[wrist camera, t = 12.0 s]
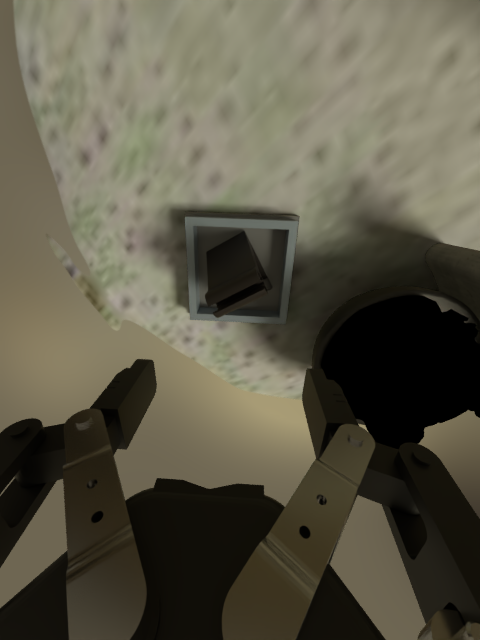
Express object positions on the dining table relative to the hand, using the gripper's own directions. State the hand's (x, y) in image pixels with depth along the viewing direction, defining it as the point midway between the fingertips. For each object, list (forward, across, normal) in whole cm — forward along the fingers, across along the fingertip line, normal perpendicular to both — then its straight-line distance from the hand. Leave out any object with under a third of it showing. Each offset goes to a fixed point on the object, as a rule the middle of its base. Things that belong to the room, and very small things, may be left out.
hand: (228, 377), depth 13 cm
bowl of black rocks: (+26, -19, +10) cm, 34 cm away
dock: (+26, +1, 0) cm, 26 cm away
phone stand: (+25, 0, 0) cm, 25 cm away
